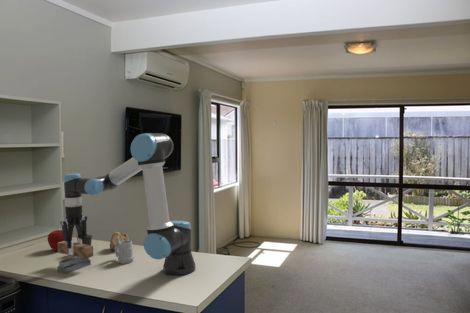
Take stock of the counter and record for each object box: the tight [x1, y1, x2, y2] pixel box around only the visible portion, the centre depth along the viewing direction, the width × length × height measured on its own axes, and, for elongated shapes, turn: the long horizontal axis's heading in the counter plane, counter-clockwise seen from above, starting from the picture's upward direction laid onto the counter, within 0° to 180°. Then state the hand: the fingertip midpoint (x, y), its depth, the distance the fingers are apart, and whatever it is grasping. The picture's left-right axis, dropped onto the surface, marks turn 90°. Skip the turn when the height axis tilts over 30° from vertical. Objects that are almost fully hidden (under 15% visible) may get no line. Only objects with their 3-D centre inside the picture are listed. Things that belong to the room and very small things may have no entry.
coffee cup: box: [76, 234, 93, 246], centre depth 209 cm, size 8×8×10 cm
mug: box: [114, 236, 135, 264], centre depth 196 cm, size 8×12×12 cm, turn 57°
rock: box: [109, 231, 130, 251], centre depth 216 cm, size 12×10×10 cm
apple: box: [47, 229, 63, 252], centre depth 216 cm, size 11×11×12 cm
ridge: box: [57, 256, 92, 274], centre depth 186 cm, size 6×14×5 cm, turn 149°
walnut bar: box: [57, 241, 94, 259], centre depth 187 cm, size 20×4×5 cm, turn 62°
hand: (75, 253), depth 187 cm, fingers closed on walnut bar, 4 cm apart
